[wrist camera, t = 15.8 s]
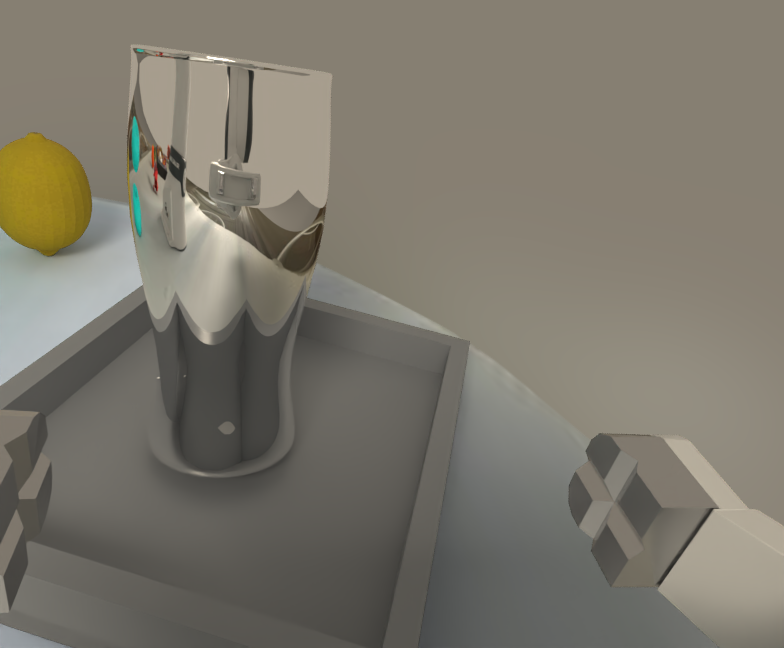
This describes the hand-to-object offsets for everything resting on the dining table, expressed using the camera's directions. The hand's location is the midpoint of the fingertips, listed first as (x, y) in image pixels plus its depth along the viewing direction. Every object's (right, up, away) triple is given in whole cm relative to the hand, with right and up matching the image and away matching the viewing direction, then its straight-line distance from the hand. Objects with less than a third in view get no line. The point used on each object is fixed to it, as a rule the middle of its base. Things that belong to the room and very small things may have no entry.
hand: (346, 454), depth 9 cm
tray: (-6, -4, +18) cm, 19 cm away
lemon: (-22, +6, +30) cm, 38 cm away
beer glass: (-7, -3, +17) cm, 18 cm away
